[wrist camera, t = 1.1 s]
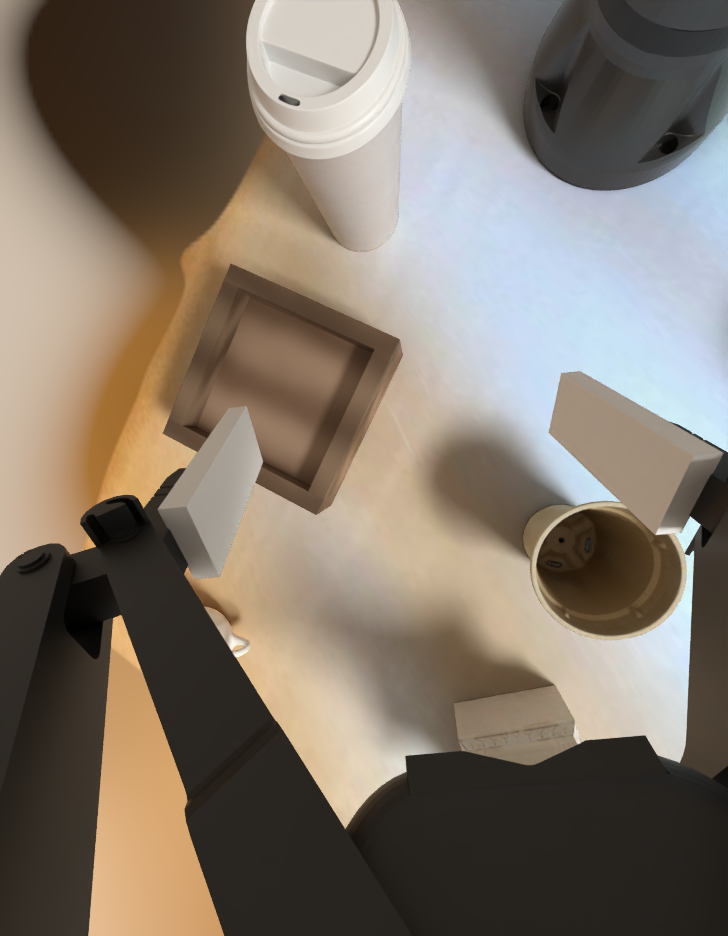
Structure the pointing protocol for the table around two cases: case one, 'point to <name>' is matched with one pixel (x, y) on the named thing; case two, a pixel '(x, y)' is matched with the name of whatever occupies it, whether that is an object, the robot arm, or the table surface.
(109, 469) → the table surface
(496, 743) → the miniature monument
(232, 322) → the walnut stand
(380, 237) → the coffee cup
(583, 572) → the flower pot
